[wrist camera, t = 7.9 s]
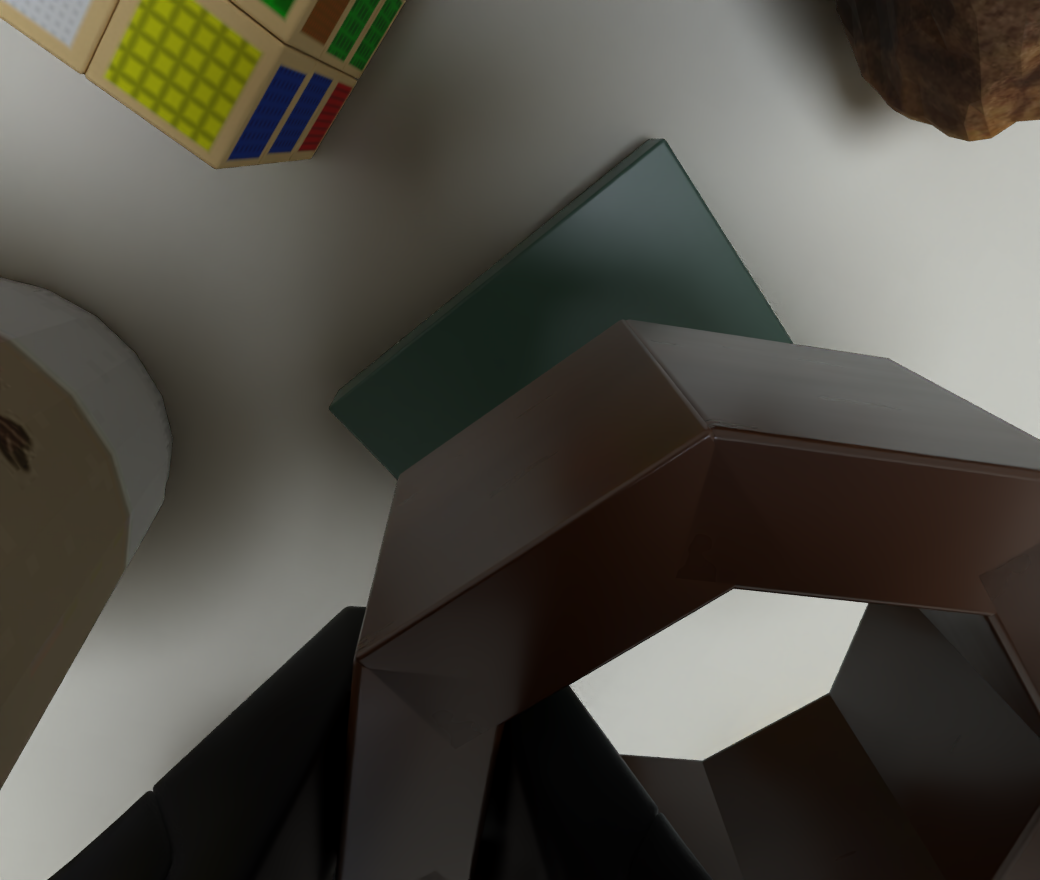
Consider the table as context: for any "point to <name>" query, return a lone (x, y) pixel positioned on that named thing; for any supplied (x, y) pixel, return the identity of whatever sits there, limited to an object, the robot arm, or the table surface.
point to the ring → (698, 581)
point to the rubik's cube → (218, 65)
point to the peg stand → (558, 307)
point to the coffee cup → (66, 490)
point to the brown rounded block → (950, 60)
